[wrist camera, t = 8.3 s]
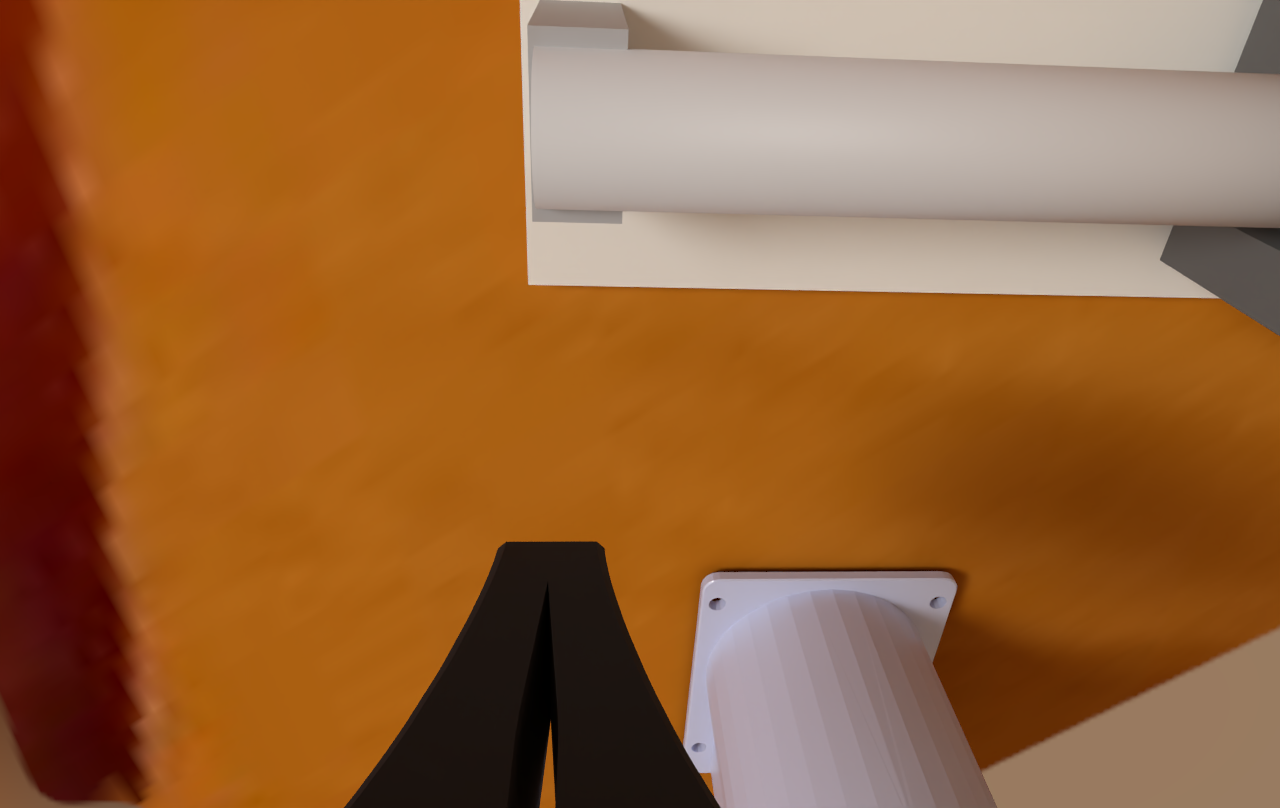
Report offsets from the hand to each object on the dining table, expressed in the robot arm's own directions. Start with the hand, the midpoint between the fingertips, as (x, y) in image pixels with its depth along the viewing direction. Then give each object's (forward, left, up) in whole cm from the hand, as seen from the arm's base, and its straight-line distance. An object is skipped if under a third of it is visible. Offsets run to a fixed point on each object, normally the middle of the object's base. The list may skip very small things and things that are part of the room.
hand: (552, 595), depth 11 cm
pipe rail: (+5, -10, -10) cm, 15 cm away
